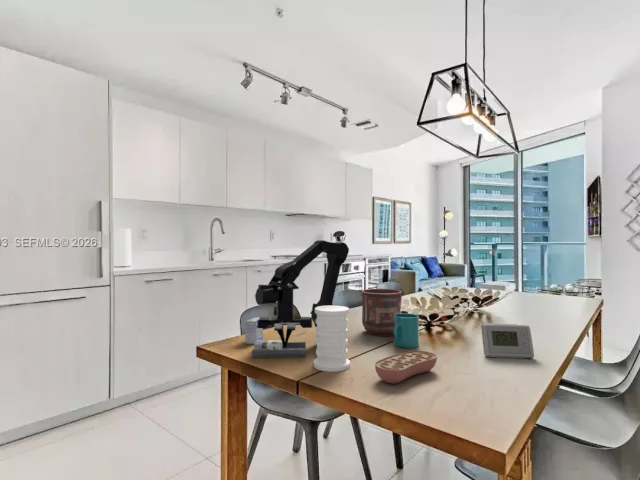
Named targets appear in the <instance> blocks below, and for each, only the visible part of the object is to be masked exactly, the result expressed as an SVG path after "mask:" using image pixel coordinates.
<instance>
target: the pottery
mask: <svg viewBox="0 0 640 480" xmlns="http://www.w3.org/2000/svg"><path fill="white" fill-rule="evenodd" d="M402 297H403V292H402V291H401V290H400V289H399V290H398V289H391V288H368V289H367V288H366V289H362V290H361V302H362V303H361V306H362V311H361V322H362V326H363V328H364V330H365V331H366V332H367V334H370V335H372V336H377V337H388V336H394V315H395V314H399V313H402Z"/></svg>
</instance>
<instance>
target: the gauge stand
mask: <svg viewBox="0 0 640 480" xmlns="http://www.w3.org/2000/svg"><path fill="white" fill-rule="evenodd" d="M264 339H265V338H263V339H257V340H256V342H255V344H253V349H252V350H251V352H252V353H251V354H252V355H251V358H252V359H255V358H258V359H260V358H307V348H306V347H307V346H306V345H307V344H306V343H307V342H306V341H288V343H287V346H286V347H284V346H283V343H282V349H263V344H267V343H268V341H265V340H264Z"/></svg>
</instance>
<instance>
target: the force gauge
mask: <svg viewBox="0 0 640 480" xmlns="http://www.w3.org/2000/svg"><path fill="white" fill-rule="evenodd" d="M267 342H268V343H267V344H263V349H282V340H281V339H280V340H279V339H278V340H277V339H275V340H273V339H272V340H270V339H268V341H267Z"/></svg>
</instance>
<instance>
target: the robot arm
mask: <svg viewBox="0 0 640 480" xmlns="http://www.w3.org/2000/svg"><path fill="white" fill-rule="evenodd" d="M349 251H350V247H348V245H347V243H346V242H332V241H331V242H330V241H327V240H321V239H319V240H315V241H314V242H313V243H312V244H311V245H309V247H307V248H306V249H305V250H304V251H302V252H301V253H300V254H299V255H298V256H297V257H295V258H294V259H292V260H291V261H289V262H285V263H283V264H282V265H279V266H278V267H277V268H275V270H274V274H273V276H272V277H271V279H270V281H269V283H268V284H258V286H257V287H258V288H257V289H256V291H255V293H254V300H255V303H256V304H257V305H258V306H264V305H274V304H276V306H273V316H274V317H276V319H271V317H270V316H264V317H263V316H262V317H258V318H259V320H258V323H257V328H263V329H267V328H268V327H269V326H273V327H274V329H273V330H274V331H275V332H277V333H278V335H279V338H280V340H282V343H283V346H284V347H286V346H287V343H288V342H289V340H290V336H291V334H292V332H293V331H296V327H297V326H300V327H302V329H311V328H312V327H313V323H314V327H315V328H317V324H316V319H317V314H316V313H315V307H319V306H328V305H334V304H333V302H334V297H335V292H336V288H337V283H338V279H339V274H340V270H341V266H342V265H343V264H344V263H345V262H346V261H347V257H348V255H349ZM322 253H325V254H326V261H327V266H326V267H327V268H326V272H325V276H324V281H323V284H322V289H321V293H320V297H319V300H318V301H317V303H316V302H314V303H313V304H312V307H311V308H312V309H311V310H310V316H301V317H300V319H294V312H295V311H294V290H299V288H300V287H299V285H297V284H296V283H295V281H296V280H297V278H299V276H300V274H301V273H302V270H303V269H304V268H306V267H307V266H308V265H309V264H310V263H311V262H313V260H315V259H316V258H317V257H318V256H320V255H321V254H322ZM284 326H286V332H285V331H284V330H285V329H284Z"/></svg>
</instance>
